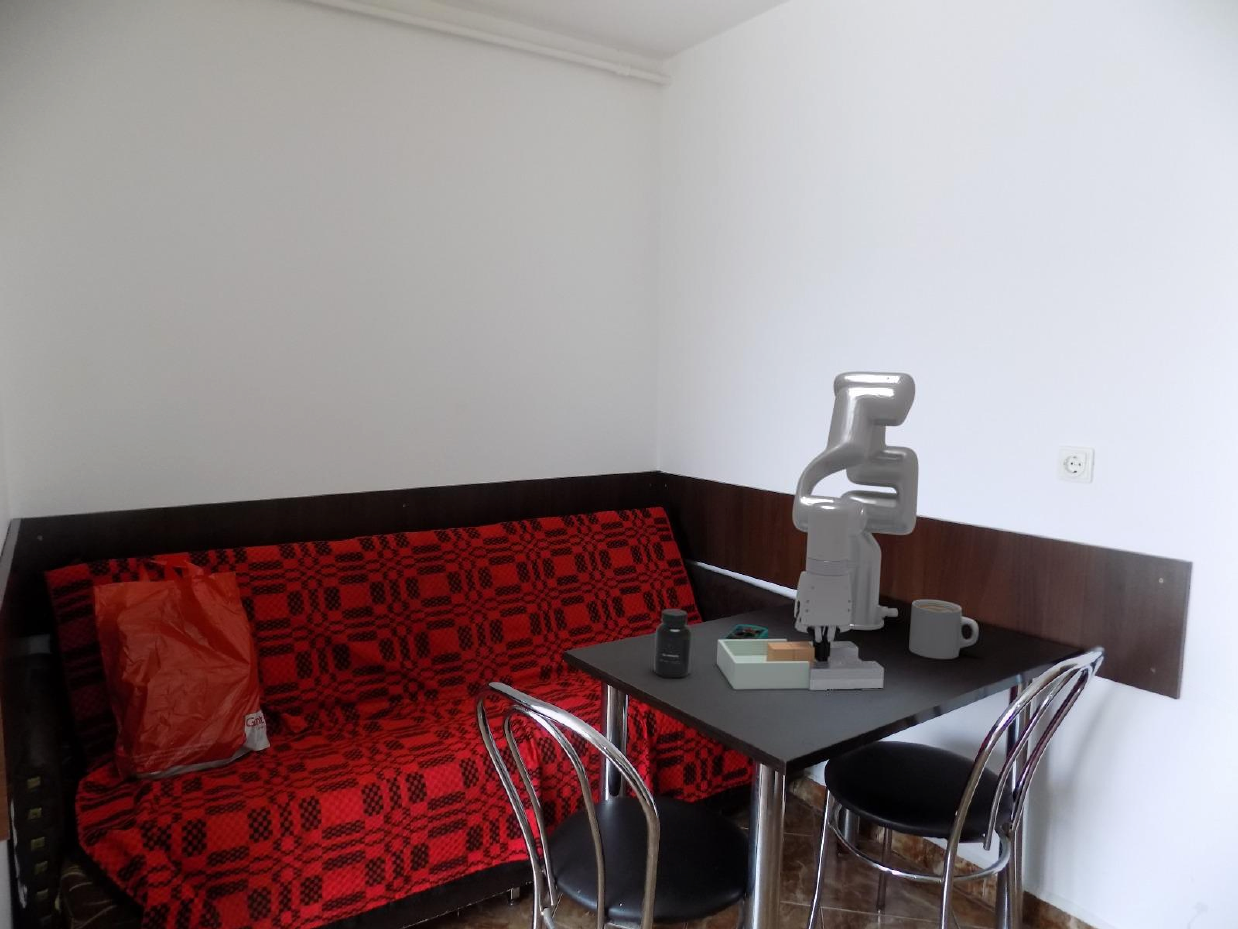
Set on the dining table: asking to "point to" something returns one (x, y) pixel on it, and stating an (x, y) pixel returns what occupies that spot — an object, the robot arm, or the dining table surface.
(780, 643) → the chip
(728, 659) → the tray
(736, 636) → the digital multimeter
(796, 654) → the chip
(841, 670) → the slotted block
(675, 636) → the supplement bottle
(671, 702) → the dining table surface
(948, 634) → the coffee mug
